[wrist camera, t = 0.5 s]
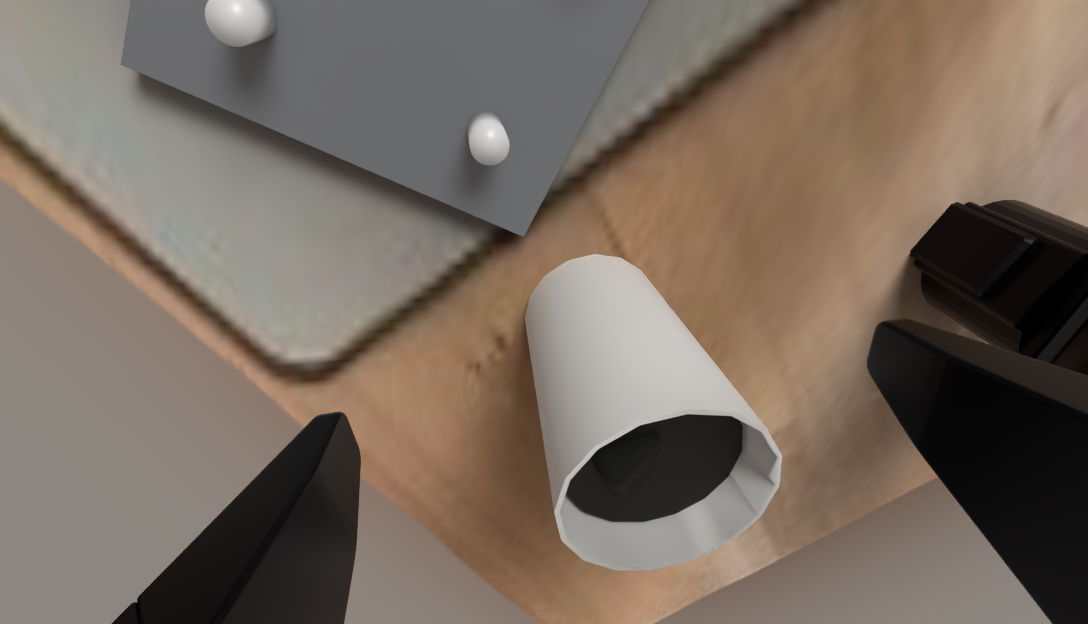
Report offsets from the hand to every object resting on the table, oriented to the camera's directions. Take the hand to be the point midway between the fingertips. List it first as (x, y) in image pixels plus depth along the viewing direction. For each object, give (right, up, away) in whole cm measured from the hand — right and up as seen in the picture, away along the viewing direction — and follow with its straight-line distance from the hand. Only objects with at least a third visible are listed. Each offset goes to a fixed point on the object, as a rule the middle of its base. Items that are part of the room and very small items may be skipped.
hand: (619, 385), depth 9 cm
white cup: (+1, +1, +15) cm, 15 cm away
